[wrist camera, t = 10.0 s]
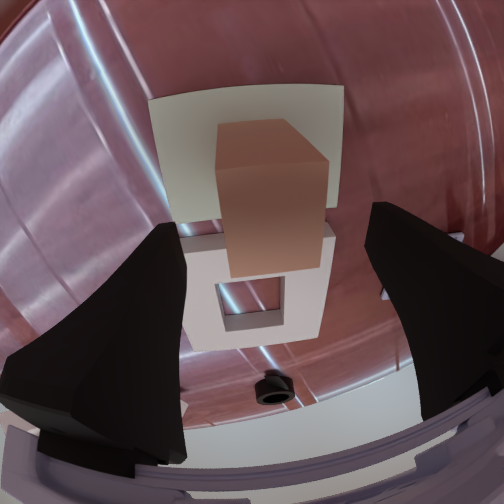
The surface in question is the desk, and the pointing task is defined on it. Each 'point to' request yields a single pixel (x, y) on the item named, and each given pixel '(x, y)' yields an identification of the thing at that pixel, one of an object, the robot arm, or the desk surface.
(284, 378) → the duct tape
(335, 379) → the desk surface
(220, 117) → the rubber mat
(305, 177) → the plug
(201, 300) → the white square frame
